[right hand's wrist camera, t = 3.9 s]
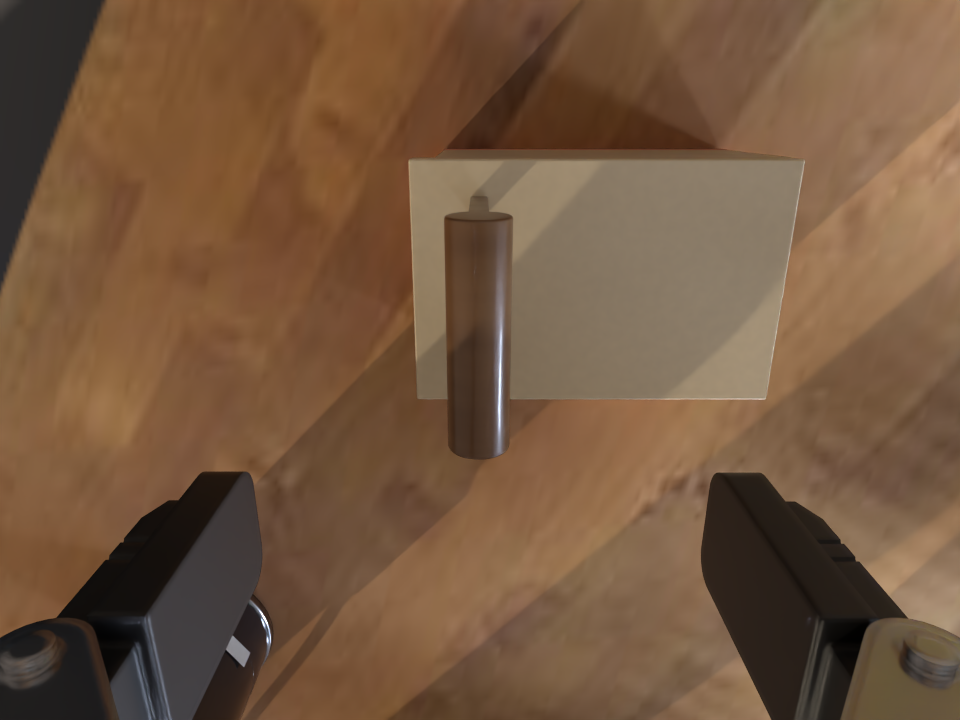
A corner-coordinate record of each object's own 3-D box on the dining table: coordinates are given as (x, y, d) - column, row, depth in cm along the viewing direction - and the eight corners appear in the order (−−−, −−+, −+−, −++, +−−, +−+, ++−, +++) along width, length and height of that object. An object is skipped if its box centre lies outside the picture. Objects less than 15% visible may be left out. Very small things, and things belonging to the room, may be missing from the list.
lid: (418, 390, 30) (395, 494, 22) (411, 157, 27) (378, 174, 18) (756, 390, 30) (863, 494, 22) (793, 157, 27) (938, 174, 18)
